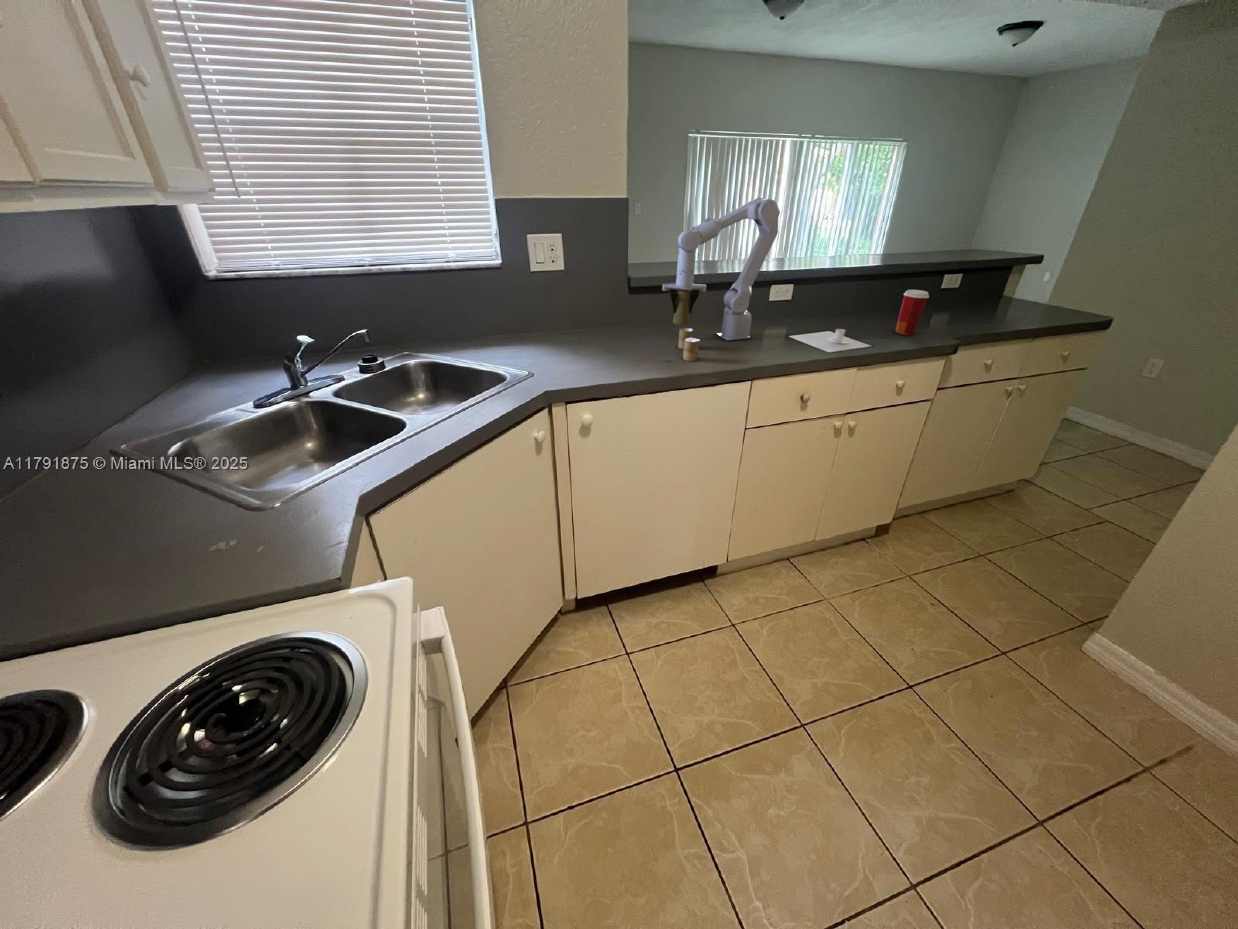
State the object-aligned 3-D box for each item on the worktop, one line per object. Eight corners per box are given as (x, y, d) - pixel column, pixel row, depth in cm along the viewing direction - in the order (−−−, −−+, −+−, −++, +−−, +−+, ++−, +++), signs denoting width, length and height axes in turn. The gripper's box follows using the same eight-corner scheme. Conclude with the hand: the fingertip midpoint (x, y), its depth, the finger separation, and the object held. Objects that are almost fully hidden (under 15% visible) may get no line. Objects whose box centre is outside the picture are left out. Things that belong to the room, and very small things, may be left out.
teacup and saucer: (836, 346, 167) (839, 334, 165) (819, 339, 173) (822, 328, 171) (855, 343, 170) (858, 331, 168) (837, 337, 176) (840, 326, 174)
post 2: (692, 356, 155) (694, 337, 152) (699, 360, 151) (701, 341, 148) (680, 357, 153) (682, 338, 150) (687, 361, 150) (688, 342, 147)
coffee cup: (917, 332, 185) (931, 291, 177) (915, 337, 179) (929, 294, 171) (893, 328, 189) (905, 288, 181) (890, 333, 183) (903, 291, 175)
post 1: (687, 344, 165) (689, 327, 162) (693, 348, 161) (695, 330, 158) (675, 346, 163) (677, 328, 160) (681, 350, 160) (683, 331, 157)
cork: (689, 320, 172) (692, 288, 166) (690, 325, 167) (693, 291, 161) (672, 319, 173) (674, 287, 167) (672, 324, 167) (674, 291, 162)
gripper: (705, 269, 165) (700, 310, 172) (662, 268, 164) (660, 309, 171) (709, 272, 159) (704, 314, 166) (664, 272, 158) (662, 314, 165)
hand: (682, 312), depth 168 cm, fingers closed on cork, 5 cm apart
